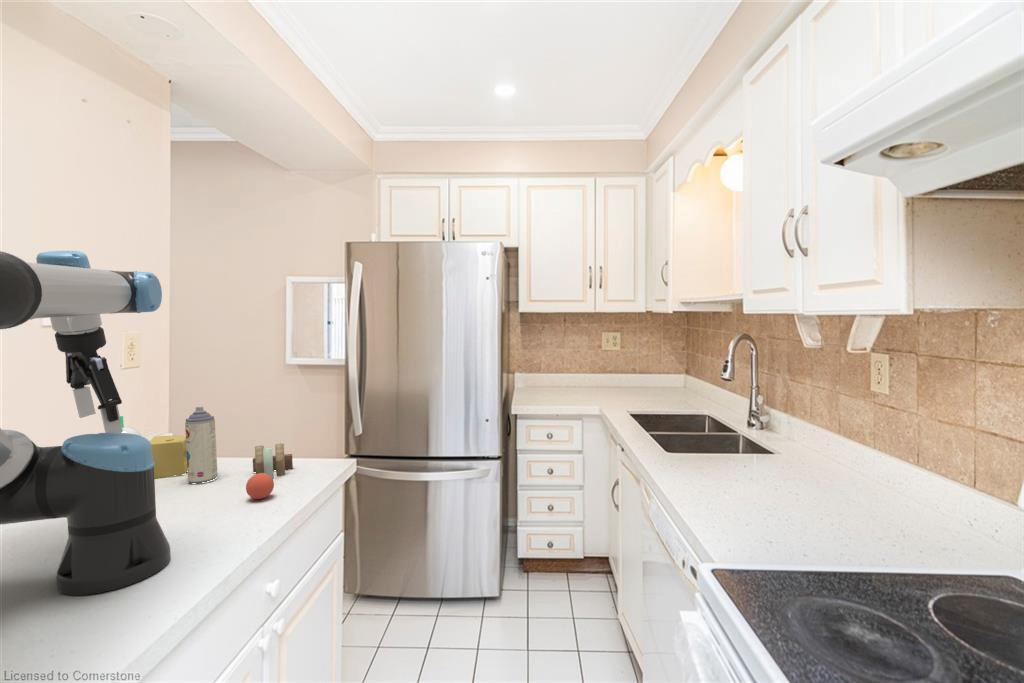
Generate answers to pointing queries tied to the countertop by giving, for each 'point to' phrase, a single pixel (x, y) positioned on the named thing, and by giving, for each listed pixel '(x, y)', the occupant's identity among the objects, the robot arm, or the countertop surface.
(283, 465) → the pin
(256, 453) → the pin
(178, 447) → the yellow box
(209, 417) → the aerosol can
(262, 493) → the ball
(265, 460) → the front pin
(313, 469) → the countertop surface
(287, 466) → the back wall
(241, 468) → the countertop surface
